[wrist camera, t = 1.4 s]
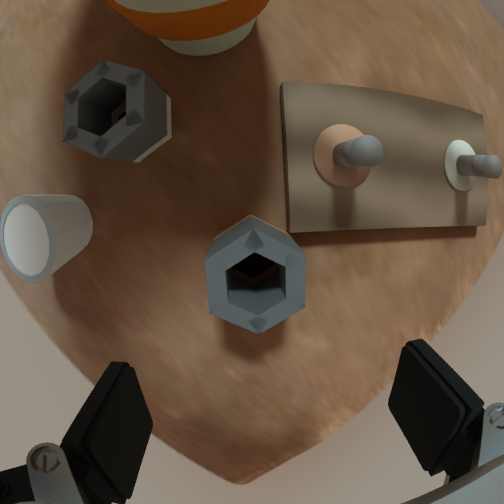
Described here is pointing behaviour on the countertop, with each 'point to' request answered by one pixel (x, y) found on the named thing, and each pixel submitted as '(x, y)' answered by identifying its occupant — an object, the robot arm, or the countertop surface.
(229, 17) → the reusable coffee cup
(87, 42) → the countertop surface
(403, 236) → the countertop surface
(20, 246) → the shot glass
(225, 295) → the terracotta-banded sleeve
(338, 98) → the pin board
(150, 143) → the cream-banded sleeve
